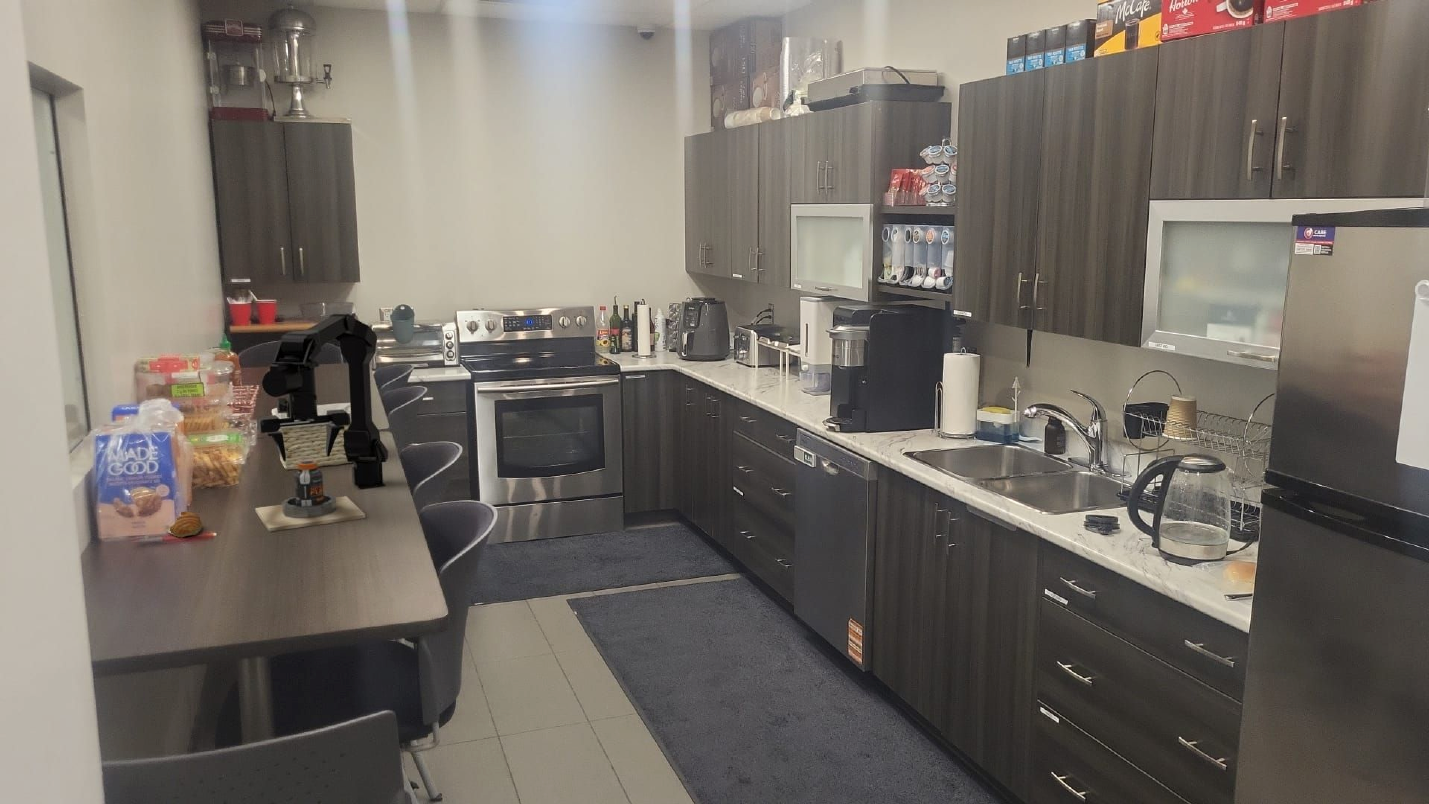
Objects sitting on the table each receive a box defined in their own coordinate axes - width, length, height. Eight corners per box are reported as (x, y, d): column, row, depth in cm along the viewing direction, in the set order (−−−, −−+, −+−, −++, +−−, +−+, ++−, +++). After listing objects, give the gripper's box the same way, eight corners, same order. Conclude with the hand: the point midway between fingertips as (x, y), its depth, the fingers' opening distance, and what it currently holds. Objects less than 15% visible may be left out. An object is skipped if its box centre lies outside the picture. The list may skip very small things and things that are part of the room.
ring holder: (346, 499, 247) (345, 485, 246) (365, 517, 232) (364, 503, 231) (255, 511, 236) (254, 497, 235) (269, 531, 221) (268, 516, 220)
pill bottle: (314, 515, 230) (311, 465, 228) (290, 513, 231) (287, 464, 230) (329, 508, 236) (326, 459, 234) (306, 506, 237) (302, 458, 235)
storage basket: (279, 472, 272) (275, 417, 270) (273, 459, 287) (269, 407, 284) (374, 463, 284) (371, 409, 281) (363, 451, 298) (360, 400, 295)
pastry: (207, 535, 219) (205, 518, 218) (172, 541, 215) (170, 524, 214) (198, 525, 226) (197, 508, 225) (164, 530, 222) (162, 513, 222)
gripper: (337, 381, 240) (341, 447, 243) (250, 388, 231) (255, 456, 233) (349, 388, 231) (352, 456, 234) (258, 395, 221) (263, 466, 224)
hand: (306, 458), depth 232 cm, fingers open, 9 cm apart
